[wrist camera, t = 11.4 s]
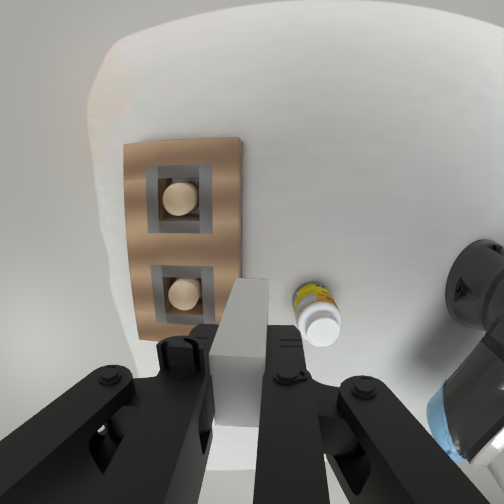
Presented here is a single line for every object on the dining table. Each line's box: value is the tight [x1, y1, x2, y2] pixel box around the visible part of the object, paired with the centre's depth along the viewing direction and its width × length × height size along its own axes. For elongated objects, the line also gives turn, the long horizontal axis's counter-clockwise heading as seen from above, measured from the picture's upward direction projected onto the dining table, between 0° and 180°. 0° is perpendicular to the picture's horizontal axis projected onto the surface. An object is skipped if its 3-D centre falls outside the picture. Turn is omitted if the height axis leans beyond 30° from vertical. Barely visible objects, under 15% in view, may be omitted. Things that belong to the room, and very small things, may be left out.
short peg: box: [168, 277, 202, 310], centre depth 41 cm, size 4×4×6 cm
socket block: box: [124, 138, 242, 342], centre depth 39 cm, size 26×14×6 cm, turn 179°
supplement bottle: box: [293, 282, 342, 347], centre depth 39 cm, size 6×6×10 cm
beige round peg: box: [163, 181, 199, 216], centre depth 38 cm, size 4×4×6 cm
